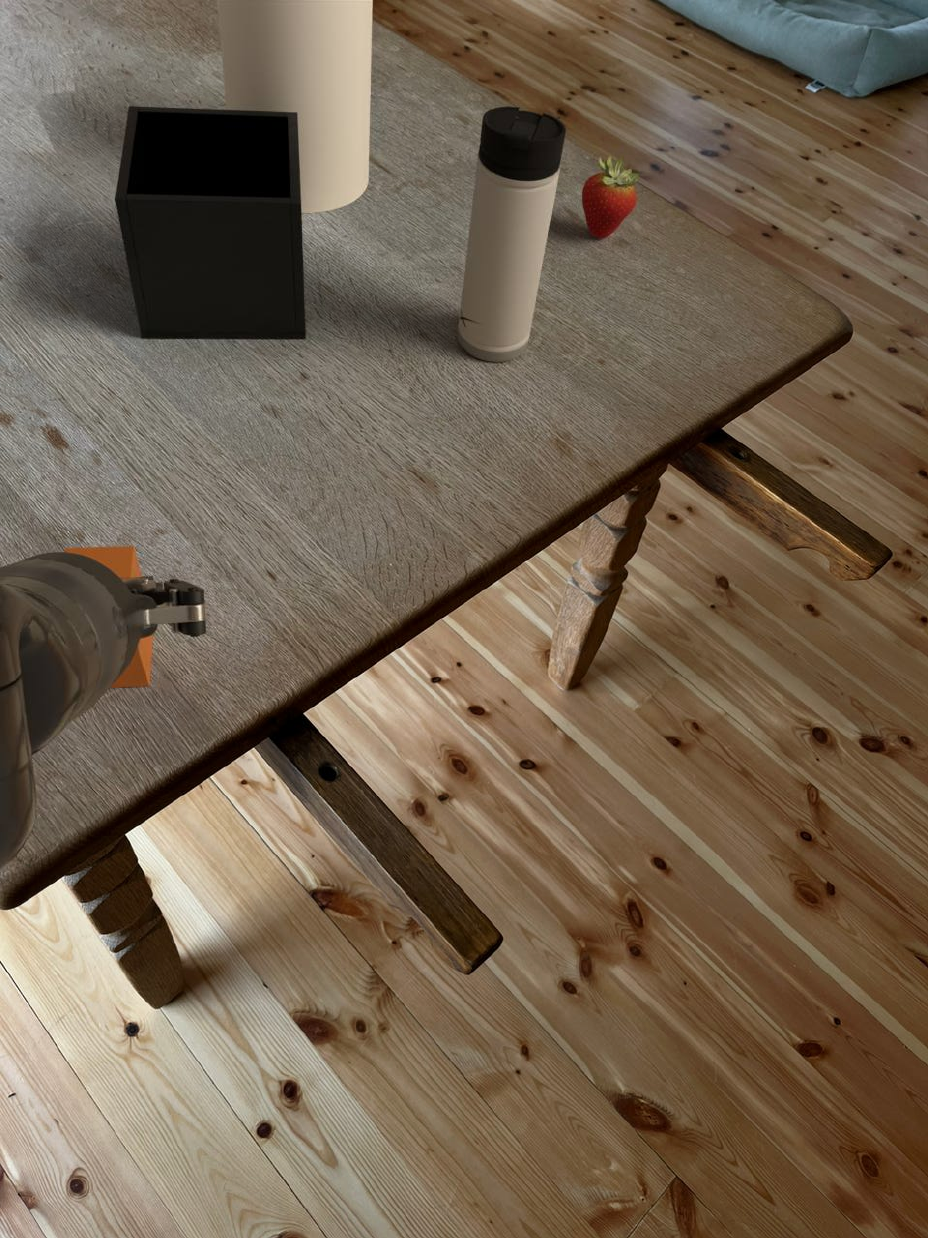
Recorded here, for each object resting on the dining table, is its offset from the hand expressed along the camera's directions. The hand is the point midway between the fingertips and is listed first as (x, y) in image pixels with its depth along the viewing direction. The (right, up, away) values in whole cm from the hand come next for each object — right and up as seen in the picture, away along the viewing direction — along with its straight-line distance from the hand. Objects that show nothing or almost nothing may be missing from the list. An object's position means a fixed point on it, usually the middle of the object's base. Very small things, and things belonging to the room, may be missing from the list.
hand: (111, 594), depth 64 cm
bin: (+1, +28, +26) cm, 38 cm away
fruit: (+36, +36, +36) cm, 63 cm away
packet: (0, -4, +2) cm, 4 cm away
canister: (+6, +43, +38) cm, 58 cm away
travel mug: (+25, +23, +25) cm, 42 cm away
